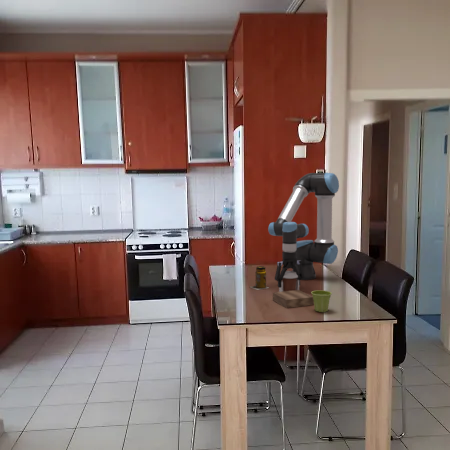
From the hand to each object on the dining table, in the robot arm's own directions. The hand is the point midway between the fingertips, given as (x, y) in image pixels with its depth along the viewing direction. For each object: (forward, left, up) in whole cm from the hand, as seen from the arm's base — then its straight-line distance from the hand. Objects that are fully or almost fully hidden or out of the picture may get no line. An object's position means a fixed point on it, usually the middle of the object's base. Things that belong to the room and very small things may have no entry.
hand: (289, 292), depth 247 cm
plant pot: (0, +32, -1) cm, 32 cm away
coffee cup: (0, 0, -1) cm, 1 cm away
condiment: (+9, -19, -1) cm, 21 cm away
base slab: (+6, +15, -1) cm, 16 cm away
